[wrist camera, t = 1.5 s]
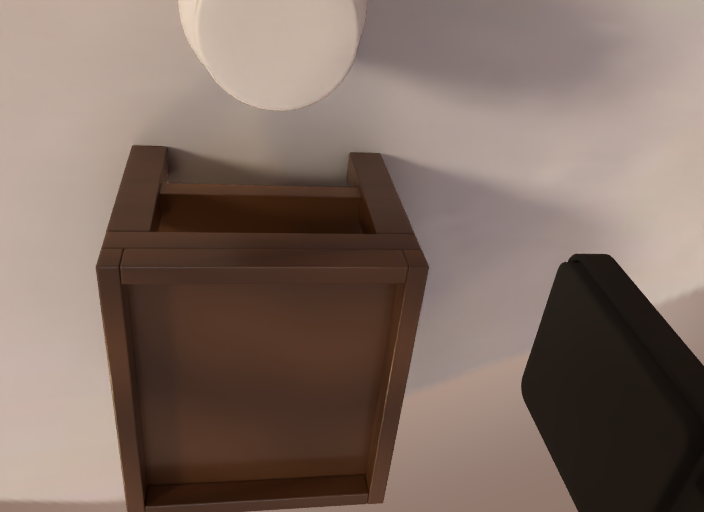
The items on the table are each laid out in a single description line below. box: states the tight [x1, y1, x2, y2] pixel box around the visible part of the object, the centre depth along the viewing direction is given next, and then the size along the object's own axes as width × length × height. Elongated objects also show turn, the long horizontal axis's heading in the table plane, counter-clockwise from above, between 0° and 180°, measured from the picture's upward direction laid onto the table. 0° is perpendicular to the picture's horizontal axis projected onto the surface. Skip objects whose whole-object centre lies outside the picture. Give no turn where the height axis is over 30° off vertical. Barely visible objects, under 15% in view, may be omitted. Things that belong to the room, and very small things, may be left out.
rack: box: [96, 146, 429, 512], centre depth 32 cm, size 14×12×10 cm
